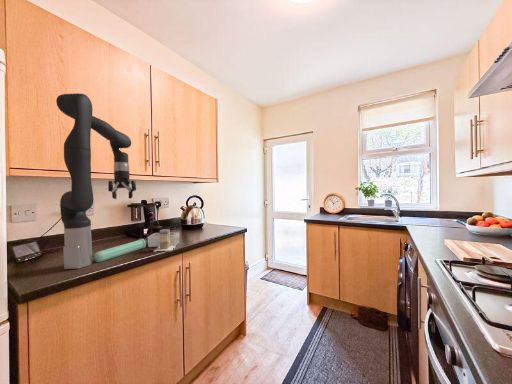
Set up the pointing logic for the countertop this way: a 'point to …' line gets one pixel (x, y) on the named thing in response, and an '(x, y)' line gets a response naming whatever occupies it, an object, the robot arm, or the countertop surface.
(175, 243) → the keyway block
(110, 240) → the countertop surface
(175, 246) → the pad
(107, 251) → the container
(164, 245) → the key peg
